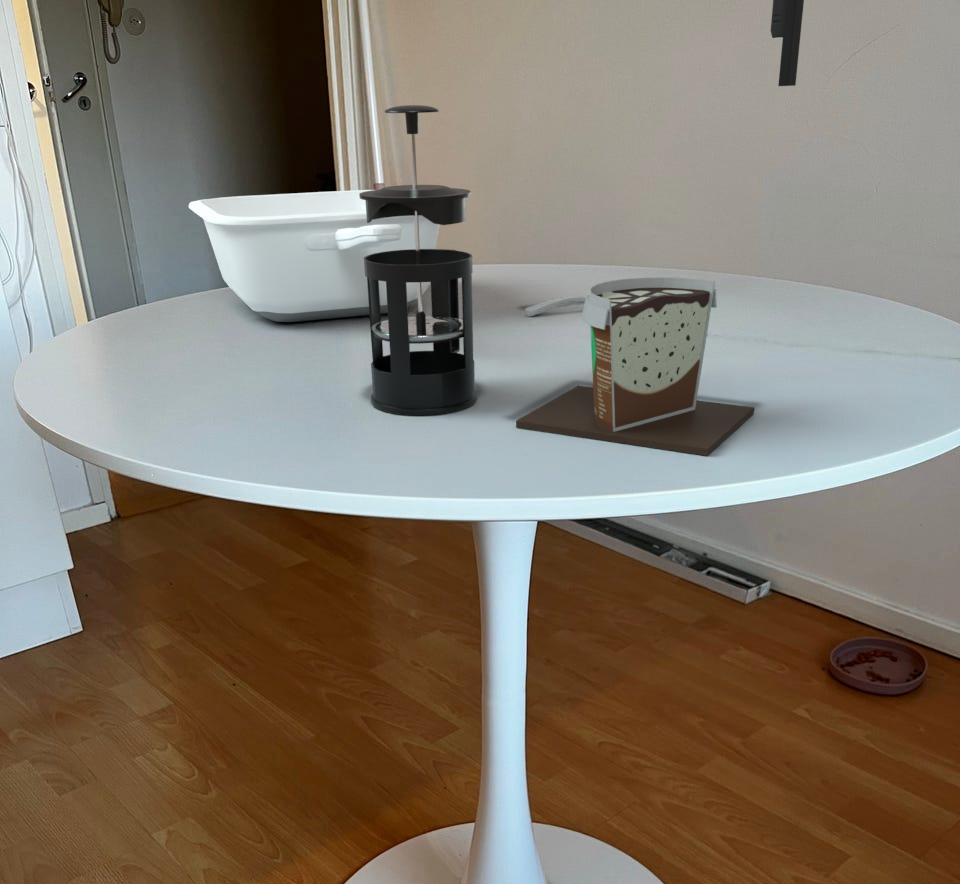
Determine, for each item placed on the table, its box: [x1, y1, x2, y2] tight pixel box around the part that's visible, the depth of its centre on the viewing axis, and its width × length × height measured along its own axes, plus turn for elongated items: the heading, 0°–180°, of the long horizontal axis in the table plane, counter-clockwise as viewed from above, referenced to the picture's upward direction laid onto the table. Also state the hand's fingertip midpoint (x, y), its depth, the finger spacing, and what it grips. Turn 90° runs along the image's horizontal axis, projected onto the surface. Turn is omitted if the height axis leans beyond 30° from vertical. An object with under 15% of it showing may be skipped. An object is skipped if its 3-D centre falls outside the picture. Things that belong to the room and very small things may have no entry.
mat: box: [515, 385, 755, 457], centre depth 82 cm, size 16×12×1 cm
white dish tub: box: [188, 189, 441, 323], centre depth 117 cm, size 28×44×13 cm, turn 21°
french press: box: [359, 104, 478, 416], centre depth 83 cm, size 12×9×23 cm
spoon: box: [524, 295, 587, 318], centre depth 122 cm, size 3×12×2 cm, turn 113°
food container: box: [581, 276, 718, 432], centre depth 80 cm, size 12×6×10 cm, turn 128°
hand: (875, 83), depth 78 cm, fingers open, 13 cm apart
